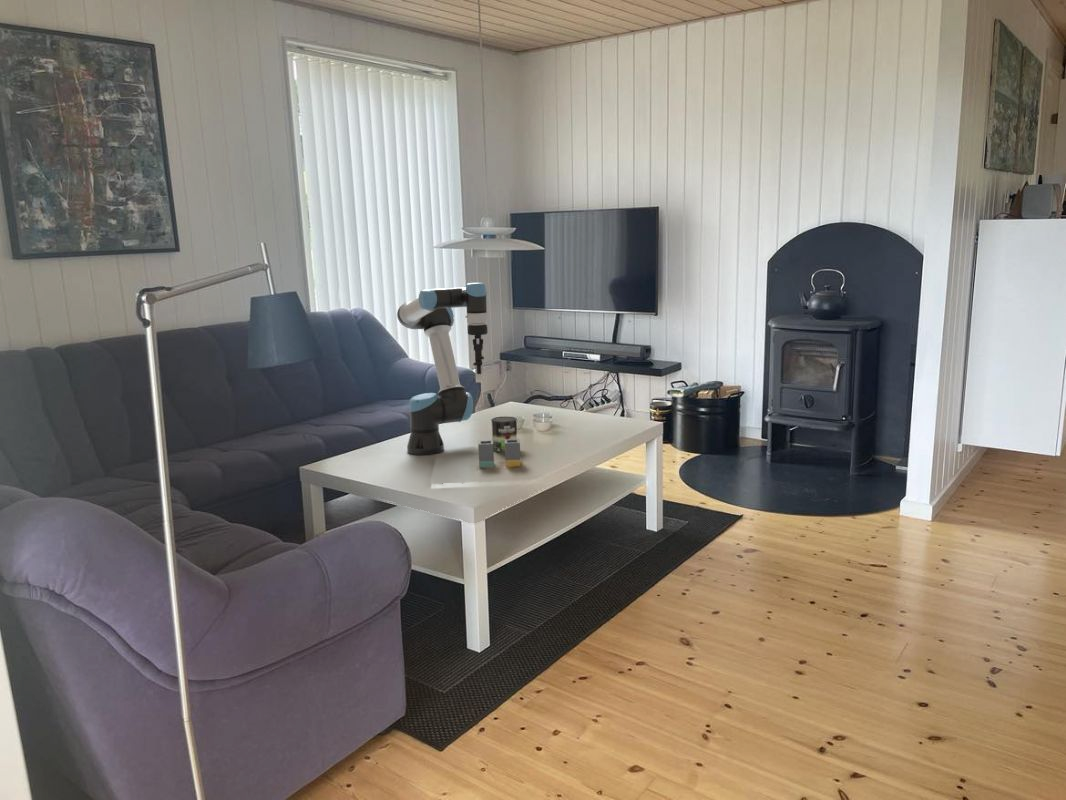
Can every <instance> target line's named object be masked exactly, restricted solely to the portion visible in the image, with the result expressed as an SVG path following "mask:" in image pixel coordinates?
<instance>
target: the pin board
mask: <svg viewBox="0 0 1066 800" xmlns="http://www.w3.org/2000/svg"><path fill="white" fill-rule="evenodd" d="M520 463H521V466H510V467H506V465H505V460H501V461H500V460H499V461H494V467H487V468H479V461H478V462H475V470H478V471H479V470H480V471H481V470H498V469H499V470H501V469H504V470H505V469H520V468H521V469H523V468H524V469H525V463H524V460H523V459H522V460H520Z"/></svg>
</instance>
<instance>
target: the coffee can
mask: <svg viewBox="0 0 1066 800" xmlns="http://www.w3.org/2000/svg"><path fill="white" fill-rule="evenodd" d="M490 420H491V434H492V435H491V436H492V437H491V438H492V439H491V440H493V448H494V453H505V440H513V439H518V430H517V429H518V425H517V421H518V420H517V417H515V416H497V417H493V418H491V419H490Z"/></svg>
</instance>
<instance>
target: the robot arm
mask: <svg viewBox="0 0 1066 800" xmlns="http://www.w3.org/2000/svg"><path fill="white" fill-rule="evenodd" d="M486 287H487V286H486V284H485V283H484V282H468V283H466V285H465V286H460V287H448V288H447V287H446V288H427V289H422V290H420V292H419V294H418V297H417V298H415V299H414V300H412V301H407V302H404V303H403V304H401V306H399V308H398V309H397V314H396V317H397V320H398V322H399V323H400V325H401V326H403V327H405V328H407V329H409V330H410V329H411V330H423V331H424V335H425V336H427V337H428V338H429V342H430V343H429V344H430V347H431V352H432V356H433V361H434V366H435V371H436V376H437V380H438V384H439V390H438V392H437V393H434V392H425V393H420V394H417V395H414V396H412V397H411V398H410V399H409V402H408V405H409V406H408V413H409V424H410V425H409V426H410V428H409V429H410V435H409V439H408V441H407V446H406V448H407V449H406V451H407V453H409V454H411V455H417V456H422V455H423V456H425V455H427V456H428V455H435V454H439V453H441V452H443V451H444V450H445V444H444V442H443V439H442V436H441V434H440V427H439V425H441V424H442V425H444V424H449V423H460V422H464V421H469V419H470V418H471V417H472V415H473V409H474V401H473V400H474V399H473V396H472V394H471V393H470V392H467V391H466V389H465V386H463V385H461V383H460V378H459V373H458V368H457V364H456V360H455V355H454V354H455V353H454V351H453V346H452V343H451V338H450V337H451V336H450V332H451V331H452V327H453V326H454V323H455V319H454V317H455V316H454V315H455V314H454V312H453V309H455V308H466V315H465V318H466V320H467V321H466V322H467V334H468V335H469V336H474V338H473V339H472V345H473V351H474V357H475V359H474V363H473V365H472V366H475V367H474V369H475V372H474V373H475V383H484V369H483V368H484V366H483V363H484V362H483V360H485V356H483V349H484V348H483V347H484V338H482V336H484V335H487V334H488V333H489V332H488V331H489V330H488V325H487V323H488V312H487V311H488V310H487V308H488V307H487V288H486Z"/></svg>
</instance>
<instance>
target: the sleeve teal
mask: <svg viewBox="0 0 1066 800" xmlns="http://www.w3.org/2000/svg"><path fill="white" fill-rule="evenodd" d="M477 442H478V444H477V447H478V462H479V468H487V467H494V462H495V452H494V448H493V440H492V439H490V440H478V441H477Z"/></svg>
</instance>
